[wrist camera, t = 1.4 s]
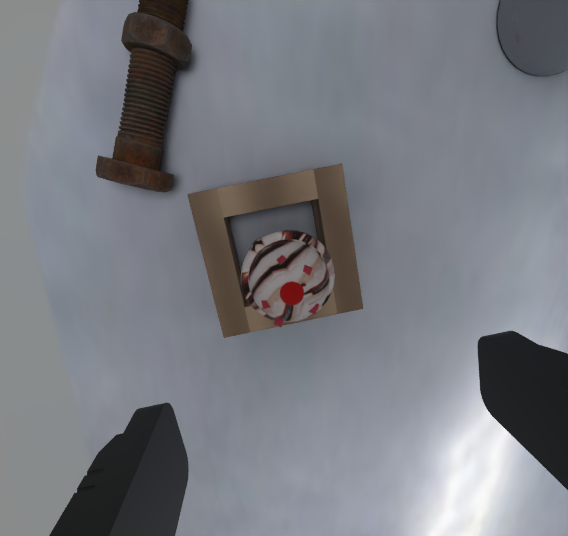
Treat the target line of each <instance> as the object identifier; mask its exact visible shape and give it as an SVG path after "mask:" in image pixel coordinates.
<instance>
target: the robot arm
mask: <svg viewBox="0 0 568 536" xmlns="http://www.w3.org/2000/svg"><path fill="white" fill-rule="evenodd" d="M498 33H499V39H500V42H501V45H502V48H503V50H504V52H505V53H506V55H507V57H508V58H509V60H510V61H511V62H512V63H513V64H514V65H515V66H516V67H517V68H519V69H521V70H522V71H524V72H526V73H529V74H532V75H536V76H548V75H553V74H558V73H560V72H563V71H566V70H568V0H501V2H500V6H499V10H498ZM478 360H479V377H480V391H481V396H482V399H483V402H484V404H485V406H486V408H487V409H488V411H489V412H490V414H491V415H492V416H493V417H494V418H495V419H496V420H497V421H498V422H499V423H500V424H501V425H502V426H503V427H504V428H505V429H506V430H507V431H508V432H509V433H510V434H511V435H512V436H513V437H514V438H515V439H516V440H517V441H518V442H519V443H520V444H521V445H522V446H523V447H524V448H525V449H526V450H527V451H529V452H530V453H531V454H532V455H533V456H534V457H535V458H536V459H537V460H538V461H539V462H540V463H541V464H542V465H543V466H544V467H545V468H546V469H547V470H548V471H549V472H550V473H551V474H552V475H553V476H554V477H555V478H556V479H557V480H558V481H559V482H560V483H561V484H562V485H563V486H564V487H565V488H566V489H567V490H568V354H567V353H564V352H561V351H558V350H554V349H551V348H548V347H545V346H541V345H538V344H536V343H534V342H533V341H531V340H529V339H527V338H526V337H524V336H522V335H520V334H519V333H517V332H515V331H507V332H502V333H497V334H493V335H488V336H483V337H481V338H480V339H479V341H478ZM187 481H188V458H187V453H186V450H185V446H184V443H183V440H182V437H181V433H180V430H179V427H178V424H177V420H176V417H175V414H174V411H173V408H172V406H171V405H170V404H169V403H163V404H158V405H154V406H149V407H144V408H140V409H137V410H136V411H135V413H134V414H133V416H132V418H131V420H130V422H129V424H128V426H127V427H126V429H125V431H124V433H123V434H118V435H116V436H115V437H114V438H113V439H112V440H111V441H110V442H109V443H108V444H107V445H106V446H105V447H104V448H103V449H102V450H101V451H100V452H99V453H98V454H97V456H96V458H95V459H94V461H93V463H92V464H91V466H90V468H89V469H88V471H87V476H84V478H83V480H82V481H81V483H80V485H79V486H78V488H77V493H74V495H73V497H72V498H71V500H70V502H69V504H68V505H67V507H66V508H65V510H64V512H63V513H62V515H61V517H60V519H59V520H58V522H57V524H56V525H55V527H54V529H53V530H52V532H51V534H50V536H175V533H176V529H177V525H178V520H179V516H180V512H181V507H182V503H183V499H184V495H185V490H186V486H187Z"/></svg>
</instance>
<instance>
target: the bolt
mask: <svg viewBox="0 0 568 536" xmlns="http://www.w3.org/2000/svg"><path fill="white" fill-rule="evenodd" d="M139 3H140V4H139V5H138V7H139V9H138V11H137V12H138V13H137V12H134V13H131V14H129V15H128V16H127V18H126V20H125V23H124V27H123V33H122V40H121V41H122V43H123V44H124V46H125V48H126V49H127V50H128V51H130V52H131V53H132V54H131V55H130V57H131V59H130V63H131V64H129V68H130V69H128V72H129V74H127V77H128V78H129V79H126V81H127V84H126V87H127V88H126V89H125V92H126V93H125V94H124V96H125V97H126V98H124V101H125V103H123V105H124V106H125V107H123V108H122V110H123V111H124V112H122V113H121V114H122V115H123V116H122V117H121V118H120V119H121V120H122V121H120V124H121V125H122V126H119V129H121V130H120V131H118V136H117V137H116V140H115V146H114V152H113V158H112V159H111V158H107V157H102V156H98V158H97V165H96V175H97V177H100V178H103V179H106V180H110V181H114V182H118V183H121V184H125V185H130V186H134V187H139V188H143V189H148V190H153V191H157V192H167V191H169V190H170V189H171V186H172V181H173V176H174V175H172V174H169V173H165V172H161V171H159V169H160V163H161V157H162V143H163V141H162V140H161V139H163V138H164V137H163V136H162V135H163V134H164V132H163V131H162V130H165V128H164V127H163V126H165V125H166V124H165V121H167V119H166V118H165V117H167V116H168V114H167V112H168V109H167V108H169V105H168V104H169V103H170V101H169V100H168V99H171V97H170V96H169V95H171V94H172V93H171V91H170V90H172V87H171V86H172V85H173V83H172V81H174V78H173V76H175V74H174V73H173V72H175V71H176V70H180V69H183V68H184V67H185V66H186V65H187V64H188V62H189V60H190V54H191V49H192V44H191V43H190V41H189V39H188V37H187V36H186V35H185V34H184V33H183V32H182V30H183V25H184V20H185V15H186V10H187V6H186V5H187V4H188V0H139Z"/></svg>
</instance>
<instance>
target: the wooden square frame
mask: <svg viewBox="0 0 568 536" xmlns="http://www.w3.org/2000/svg"><path fill="white" fill-rule="evenodd" d="M188 198H189V202H190V206H191V210H192V214H193V218H194V222H195V226H196V230H197V234H198V238H199V241H200V245H201V249H202V253H203V257H204V261H205V265H206V269H207V273H208V277H209V281H210V285H211V289H212V293H213V297H214V301H215V305H216V309H217V313H218V317H219V320H220V324H221V328H222V332H223V336H224V338H225V337H230V336H235V335H239V334H244V333H249V332H254V331H259V330H263V329H268V328H273V327H278V326H277V325H274V322H275V321H274V320H271V319H268V318H266V317H264V316H263V315H261V314H260V313H258V312H257V311H256V310H255V309H254V308H253V307H252V306H251V305H250V304H249V303H248V301H247V300H246V299H245V297H244V295H243V292H242V288H241V269H240V265H239V261H238V256H237V252H236V248H235V243H234V239H233V235H232V230H231V226H230V221H229V216H234V215H239V214H244V213H249V212H254V211H259V210H264V209H269V208H274V207H279V206H284V205H289V204H294V203H299V202H304V201H309V200H311V202H312V208H313V214H314V220H315V226H316V232H317V237H318V241H319V242H321V243H322V244H323V246H324V247H325V248H326V249H327V251H328V252H329V254H330V256H331V259H332V263H333V266H334V274H335V278H334V286H333V290H332V293H331V295H330V297H329V299H328V301H327V302H326V303H325V304H324V306H323V307H322V308H321V309H320V310H319V311H317V312H316V314H313V315H311V316H310V317H308V318H306V319H303V320H299V321H294V322H283V324H282V325H287V324H292V323H297V322H301V321H306V320H311V319H316V318H320V317H325V316H330V315H335V314H339V313H344V312H349V311H354V310H358V309H363V304H362V297H361V290H360V283H359V276H358V270H357V263H356V256H355V249H354V242H353V235H352V228H351V222H350V215H349V208H348V201H347V194H346V187H345V180H344V174H343V167H342V164H338V165H333V166H328V167H323V168H318V169H312V170H307V171H302V172H297V173H292V174H287V175H282V176H277V177H272V178H267V179H262V180H257V181H252V182H247V183H242V184H237V185H232V186H226V187H221V188H216V189H211V190H206V191H201V192H196V193H191V194H188Z"/></svg>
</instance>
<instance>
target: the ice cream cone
mask: <svg viewBox="0 0 568 536" xmlns="http://www.w3.org/2000/svg"><path fill="white" fill-rule="evenodd" d="M334 278H335V274H334V266H333V263H332V259H331V256H330V254H329V252H328V251H327V249H326V248H325V247H324V246H323V244H322V243H321V242H319V241H318V240H317V239H315V238H314V237H312V236H310V235H308V234H306V233H303V232H299V231H289V230H287V231H280V232H275V233H272V234H268V235H266V236H263V237H261V238H259V239H257V240H255V242H254V243H253V244H252V246H251V248H250V249H249V251H248V253H247V255H246V257H245V259H244V262H243V266H242V269H241V288H242V292H243V295H244V297H245V299H246V300H247V301H248V303H249V304H250V305H251V306H252V307H253V308H254V309H255V310H256V311H257V312H258V313H260V314H261V315H263V316H264V317H266V318H268V319H271V320H274V321H275V322H274V325H277V326H280V327H281V326H282V324H283V322H294V321H299V320H303V319H306V318H308V317H310V316H311V315H313V314H316V312H317V311H319V310H320V309H321V308H322V307H323V306H324V304H325V303H326V302H327V301H328V299H329V297H330V295H331V293H332V290H333V286H334Z"/></svg>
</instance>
